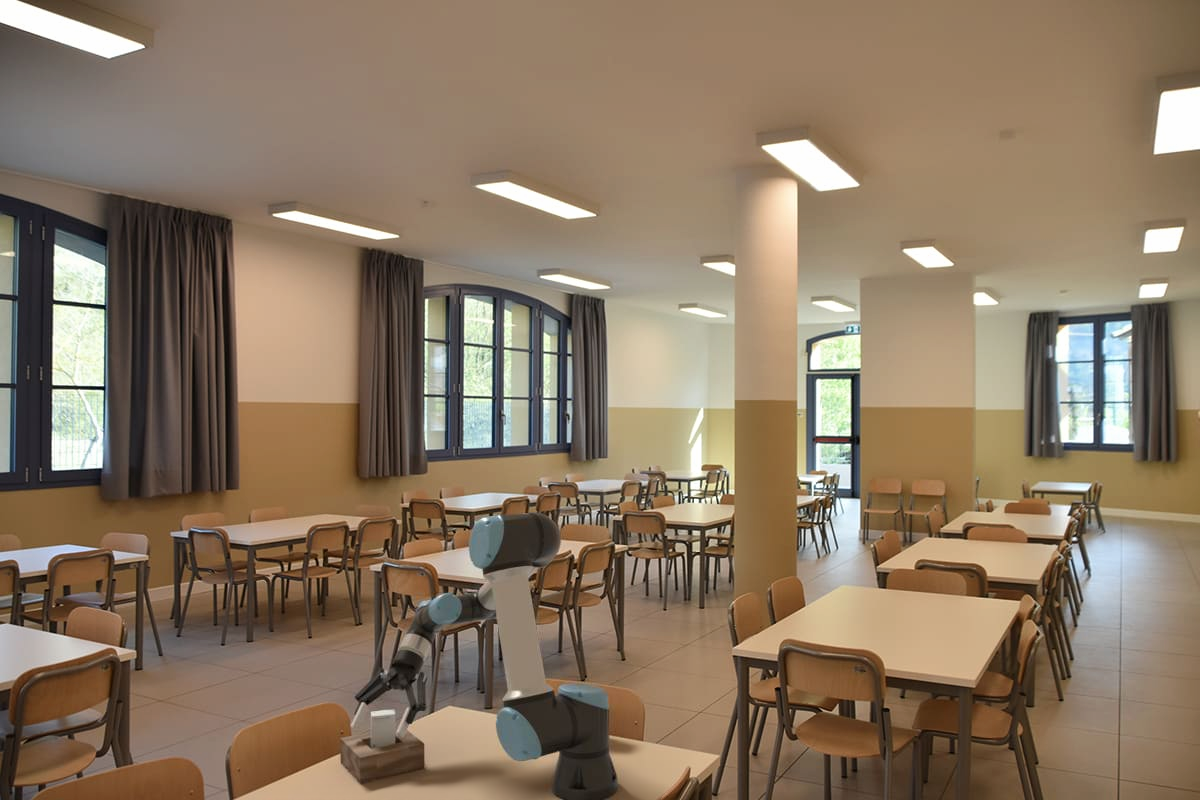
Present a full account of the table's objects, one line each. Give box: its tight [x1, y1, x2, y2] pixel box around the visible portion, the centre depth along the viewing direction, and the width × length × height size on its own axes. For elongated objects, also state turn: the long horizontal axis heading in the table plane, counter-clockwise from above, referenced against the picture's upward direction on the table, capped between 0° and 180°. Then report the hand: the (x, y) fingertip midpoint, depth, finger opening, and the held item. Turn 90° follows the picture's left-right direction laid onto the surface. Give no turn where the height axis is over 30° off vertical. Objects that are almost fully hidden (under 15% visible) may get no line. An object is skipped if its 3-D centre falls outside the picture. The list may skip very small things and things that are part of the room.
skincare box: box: [370, 708, 397, 749], centre depth 212 cm, size 6×4×12 cm
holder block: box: [339, 725, 425, 784], centre depth 212 cm, size 16×16×6 cm
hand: (376, 732), depth 210 cm, fingers open, 13 cm apart
